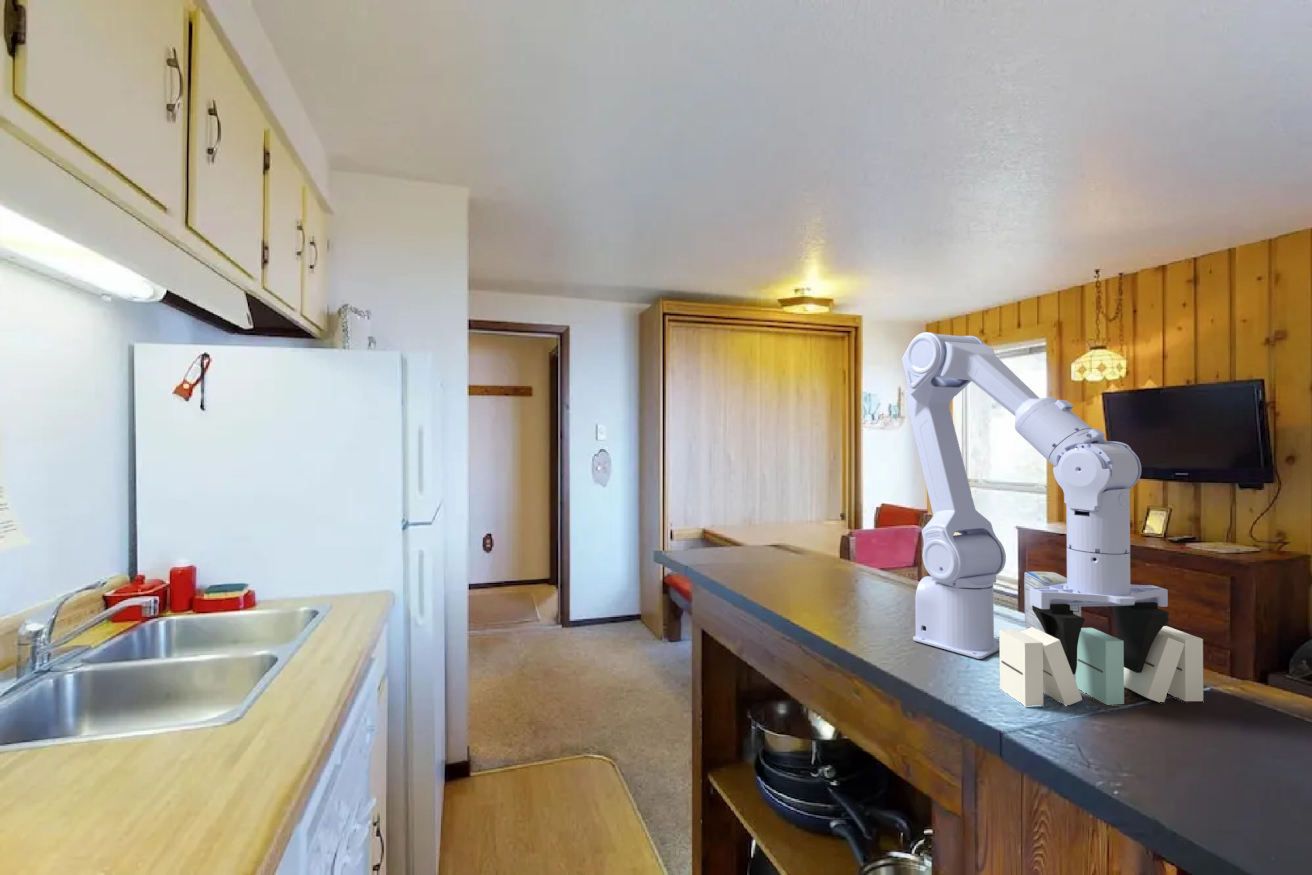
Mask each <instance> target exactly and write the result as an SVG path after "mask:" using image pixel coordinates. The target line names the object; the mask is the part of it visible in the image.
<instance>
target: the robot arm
mask: <svg viewBox="0 0 1312 875" xmlns="http://www.w3.org/2000/svg"><path fill="white" fill-rule="evenodd" d="M901 362H902V366H903V370H904V374H905V379H906V382H907V383H906V384H907V385H906V399H905V400H906V407H907V410H908V415H909V419H910V422H911V427H912V430H913V435H914V439H915V440H914V441H915V444H916V449H917V452H918V457H919V461H920V465H921V469H922V473H923V478H924V482H925V486H926V492H927V494H928V499H929V504H930V507H931V510H932V517H931V519H930V520H929V521H928V522H927V524H926V525H925V526H924V527H923V528H922V530H921V534H922V538H923V546H922V547H923V548H922V552H921V553H922V555H921V556H922V562H923V566H924V568H925V570H926V572H927V573H928V574H929V575H926V576H924V577H922V578H921V579H920V581H919V582H918V584H917V587H916V589H915V590H916V591H915V600H914V601H915V604H914V605H915V610H914V611H915V635H914V636H913V637H912V640H913V641H915V642H918V643H922V644H925V645H929V646H933V647H935V648H939V649H944V650H945V651H946V650H947V651H950V652H953V653H957V654H960V655H964V656H968V657H970V658H974V659H978V660H982V659H984V658H986V657H988V656H990V655H992V654H994V653H997V652H998V651H1000V642H999V640H997V639H995V638H994V637H995V632H994V630H995V626H994V625H995V622H994V621H995V620H994V618H995V617H994V614H995V613H994V612H995V611H994V584H995V583H997V575H999V574H1001V572H1002V571H1003V570H1004V568H1005V566H1006V562H1007V561H1006V560H1007V555H1006V551H1005V550H1006V549H1005V548H1004V545H1003V543H1002V542H1001V541H1000V540H999V538H998V537H997V535H996V534H995V531H994V528H993V525H992V523H991V521H990V520H989V519H988V518H986V517H985V516H983V514H982V513H981V512H979V511H977V509H976V506H975V503H974V499H973V495H972V491H971V490H972V489H971V487H970V483H969V480H968V476H967V472H966V466H965V463H964V459H963V455H962V452H961V447H960V445H959V441H958V440H959V439H958V436H957V431H956V428H955V425H954V424H955V423H954V421H953V416H952V413H951V408H950V404H951V403H952V401H953V399H954V398H955V397H956V396H957V395H958V394H960V392H962V391H963V389H965V388H966V387H967V386H968V385H969V384H970V383H971V382H972V383H973V384H975V385H976V386H977V387H978V388H979V389H981V390H982V391H983V392H985V393H986V394H987V395H989V396H990V398H992V399H993V400H995V402H997V403H998V404H999V405H1000V406H1002V407H1003V408H1004V409H1005V410H1007V411H1008V412H1010V414H1012V415H1013V416H1014V417H1015V419H1014V420H1015V421H1014V429H1015V431H1016V432H1017V433H1018V434H1019V435H1020V436H1021V437H1022V438H1023V439H1024V440H1025V441H1027V443H1029V445H1031V446H1032V447H1033V448H1034V449H1035V450H1036V451H1037V452H1038V453H1039V454H1040V455H1042V456H1043V457H1044V458H1045V460H1047V461H1048V462H1049V463H1050V464H1051V465H1052V466H1053V467H1052V472H1053V476H1054V480H1055V481H1056V483H1057V484H1058V486H1060V488H1061V490H1062V491H1063V498H1064V502H1063V503H1064V504H1065V505H1066V506H1065V507H1066V514H1065V515H1066V516H1065V517H1066V578H1067V583H1064V584H1058V585H1052V586H1045V587H1034V588H1030V605H1032V610H1033V612H1034V613H1035V615H1036V616H1037V618H1038V620H1039V621H1040V623H1041V625H1042V627H1043V629H1044V631H1045V633H1046V634H1048V635H1050V636H1053V637H1055V638H1057V639H1059V640H1060V642H1061V644H1062V647H1063V650H1064V652H1065V655H1066V658H1067V660H1068V663H1069V665H1070V668H1071V671H1072V673H1073V675H1076V668H1077V646H1078V640H1079V635H1080V631H1081V628H1083V625H1084V622H1085V621H1086V619H1085V618H1084V617H1083V616H1081V617H1080V616H1078V615H1075V614H1073V610H1070V607H1081V608H1082V607H1110V608H1111V610H1112V613H1113V617H1114V621H1115V625H1116V629H1117V636H1118V637H1117V638H1118V639H1120V640H1123V641H1124V667H1125V668H1127V669H1129V670H1131V671H1133V672H1135V673H1141V672H1142V670H1143V667H1144V663H1145V660H1146V657H1147V655H1148V652H1149V649H1150V647H1151V645H1152V643H1153V641H1154V639H1155V637H1156V636H1157V634H1158V633H1159V631H1160V630H1161V629H1162V627H1163V626H1166V624H1167V623H1168V622H1169V618H1170V616H1169V611H1167V610H1164V609H1161V607H1162V608H1163V607H1164V608H1166V607H1168V606H1169V602H1168V599H1169V598H1168V597H1169V596H1168V595H1169V594H1168V589H1167V588H1163V587H1160V586H1156V585H1153V584H1152V585H1151V584H1148V585H1147V584H1146V585H1145V584H1144V585H1143V584H1131V506H1130V505H1131V502H1130V501H1131V499H1130V498H1131V496H1130V495H1131V493H1130V489H1132V488H1133V487H1134V486H1135V485H1136V484H1137V483H1138V481H1140V478H1141V475H1142V464H1141V461H1140V458H1139V457H1138V455H1137V454H1136V453H1135V451H1134V450H1132V448H1131V446H1130V445H1128V444H1127V443H1124V442H1120V441H1114V440H1113V441H1112V440H1111V441H1110V440H1106V439H1105V438H1104V437H1105V436H1106V434H1105V433H1104V432H1103V431H1102V430H1101V429H1100V428H1093V427H1091V426H1090V425H1089V424H1088V423H1087V422H1086V421H1084V420H1083V419H1082V418H1081V417H1080V416H1078V415H1077V414H1076V413H1075V412H1073V411H1072V410H1073V409H1074V405H1073V404H1072V403H1071V402H1070V401H1068V400H1067V399H1058V398H1056V397H1048V396H1047V397H1042V398H1040V397H1039V396H1038V395H1037V394H1036V393H1035V391H1033V390H1032V389H1031V388H1030V387H1028V385H1027V384H1026V383H1025V382H1023V380H1021V378H1020V377H1018V376H1017V375H1016V374H1015V373H1014V372H1013V371H1012V370H1011V369H1010V368H1009V367H1008V366H1007V365H1006V364H1005V363H1004V362H1003V361H1002V360H1001V359H1000V358H999V357H998V356H997V355H996V354H995V351H994V348H993V347H991V346H990V345H987V344H985V343H984V341H983V340H981V338H979V337H977V336H975V335H952V334H939V333H934V332H930V331H929V332H928V331H927V332H926V331H925V332H921V333H919V334H917V335H916V336H915V337H914V338H913V339H912V340H911V342H910V343H909V345H908V346H907V349H906V350H905V352H904V354H903V356H902V358H901ZM955 533H958V534H955ZM1158 607H1159V608H1158Z"/></svg>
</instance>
